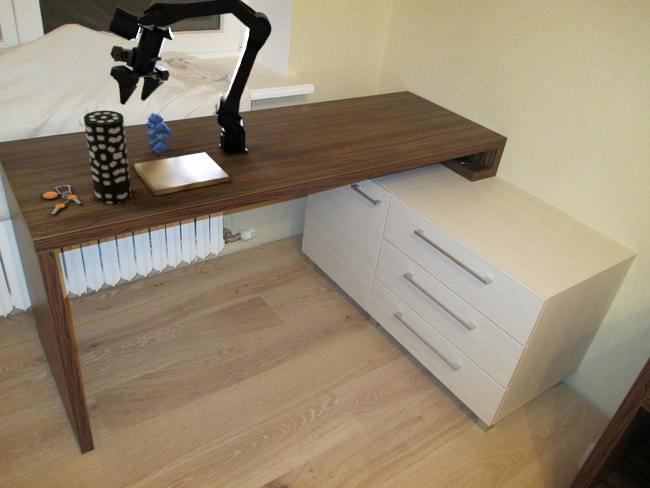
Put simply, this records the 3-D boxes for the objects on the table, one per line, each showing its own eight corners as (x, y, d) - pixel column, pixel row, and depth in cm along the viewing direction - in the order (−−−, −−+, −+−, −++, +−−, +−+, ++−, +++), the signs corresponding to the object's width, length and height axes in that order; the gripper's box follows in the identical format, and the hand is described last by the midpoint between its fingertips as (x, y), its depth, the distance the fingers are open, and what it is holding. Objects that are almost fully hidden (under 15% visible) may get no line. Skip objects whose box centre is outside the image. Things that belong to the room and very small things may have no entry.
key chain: (40, 190, 131) (40, 187, 131) (73, 185, 135) (73, 182, 134) (49, 215, 122) (49, 212, 122) (84, 209, 126) (83, 206, 125)
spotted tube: (100, 186, 136) (89, 109, 125) (134, 188, 137) (127, 111, 126) (91, 203, 129) (78, 123, 118) (127, 204, 130) (118, 125, 119)
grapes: (181, 159, 153) (179, 118, 146) (157, 163, 150) (154, 121, 143) (165, 143, 161) (163, 103, 154) (143, 146, 157) (139, 106, 151)
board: (204, 157, 156) (204, 152, 155) (229, 181, 145) (229, 176, 144) (134, 168, 145) (134, 163, 145) (155, 195, 135) (155, 190, 134)
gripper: (144, 33, 151) (129, 84, 158) (100, 33, 134) (85, 90, 141) (177, 53, 150) (160, 103, 157) (137, 55, 133) (120, 112, 140)
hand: (132, 102), depth 149 cm, fingers open, 9 cm apart
